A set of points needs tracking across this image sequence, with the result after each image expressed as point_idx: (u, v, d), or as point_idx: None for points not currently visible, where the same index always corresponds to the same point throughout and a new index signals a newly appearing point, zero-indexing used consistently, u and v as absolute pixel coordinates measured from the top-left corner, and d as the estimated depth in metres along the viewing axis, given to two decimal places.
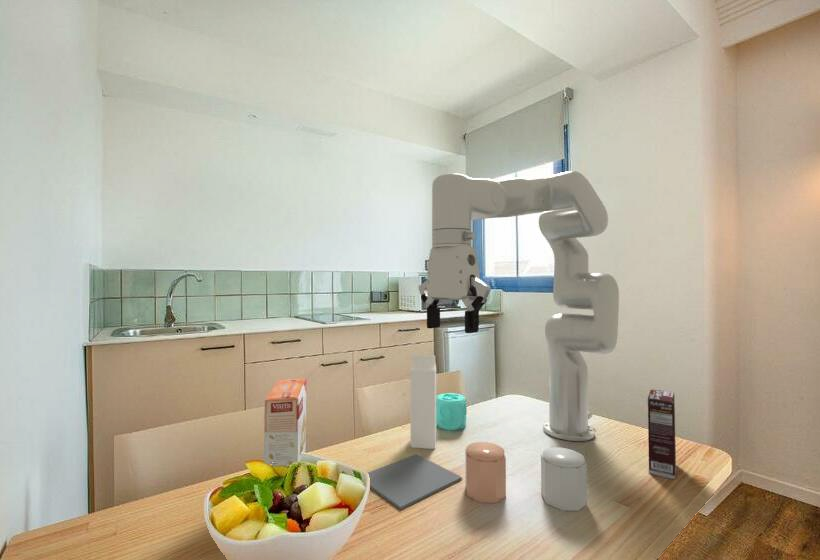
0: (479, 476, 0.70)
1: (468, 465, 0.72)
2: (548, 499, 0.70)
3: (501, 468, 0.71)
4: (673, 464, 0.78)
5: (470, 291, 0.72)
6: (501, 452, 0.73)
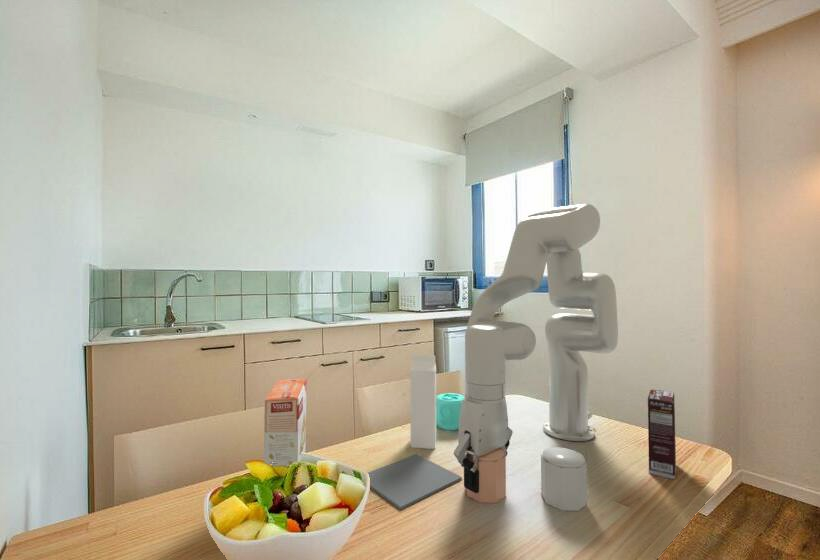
0: (479, 476, 0.70)
1: None
2: (548, 499, 0.70)
3: (501, 468, 0.71)
4: (673, 464, 0.78)
5: None
6: (501, 452, 0.73)
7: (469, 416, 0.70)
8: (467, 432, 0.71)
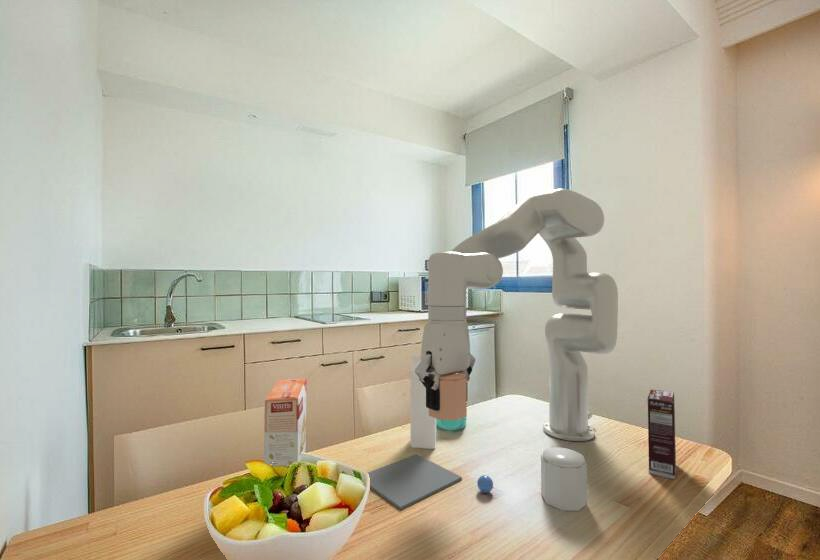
0: (440, 395, 0.72)
1: None
2: (548, 499, 0.70)
3: (462, 388, 0.73)
4: (673, 464, 0.78)
5: None
6: (462, 374, 0.75)
7: (430, 336, 0.73)
8: (429, 352, 0.73)
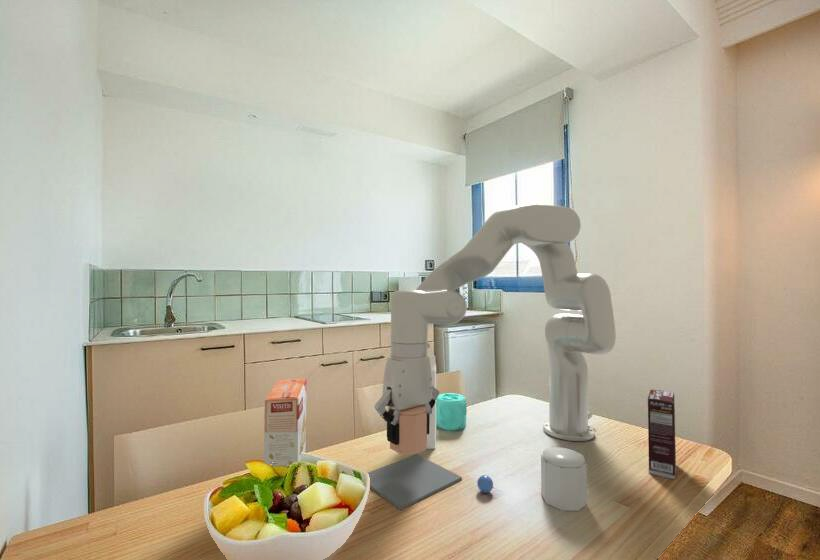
0: (399, 429, 0.75)
1: None
2: (548, 499, 0.70)
3: (421, 422, 0.76)
4: (673, 464, 0.78)
5: None
6: (423, 408, 0.77)
7: (391, 373, 0.75)
8: (389, 388, 0.76)
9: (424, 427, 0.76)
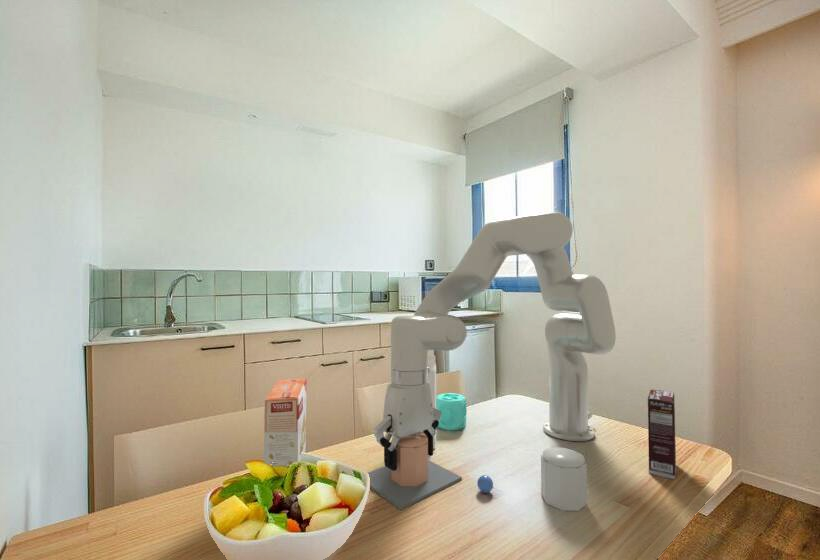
0: (400, 461, 0.75)
1: None
2: (548, 499, 0.70)
3: (422, 454, 0.76)
4: (673, 464, 0.78)
5: None
6: (424, 439, 0.77)
7: (391, 400, 0.75)
8: (390, 414, 0.76)
9: (425, 458, 0.76)
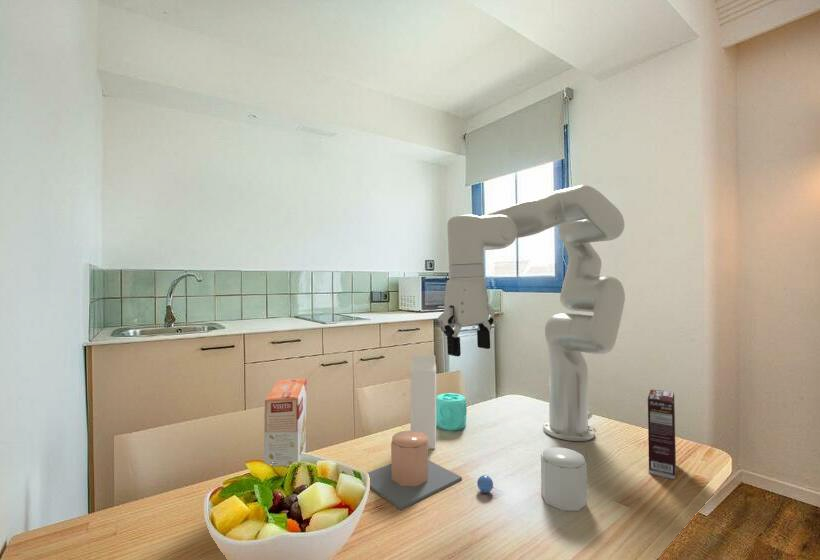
0: (400, 461, 0.75)
1: (392, 451, 0.77)
2: (548, 499, 0.70)
3: (422, 454, 0.76)
4: (673, 464, 0.78)
5: None
6: (424, 439, 0.77)
7: (452, 292, 0.80)
8: (451, 306, 0.81)
9: (425, 458, 0.76)
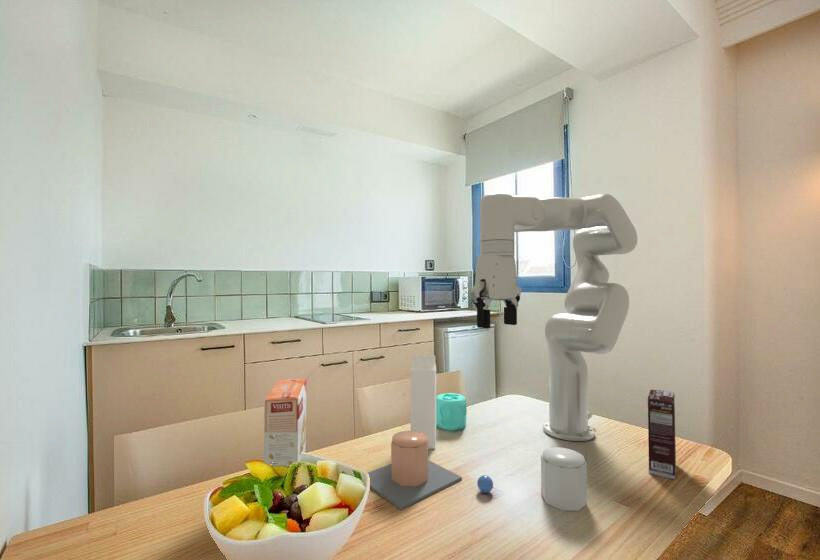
0: (400, 461, 0.75)
1: (392, 451, 0.77)
2: (548, 499, 0.70)
3: (422, 454, 0.76)
4: (673, 464, 0.78)
5: None
6: (424, 439, 0.77)
7: (484, 266, 0.83)
8: (482, 280, 0.83)
9: (425, 458, 0.76)
